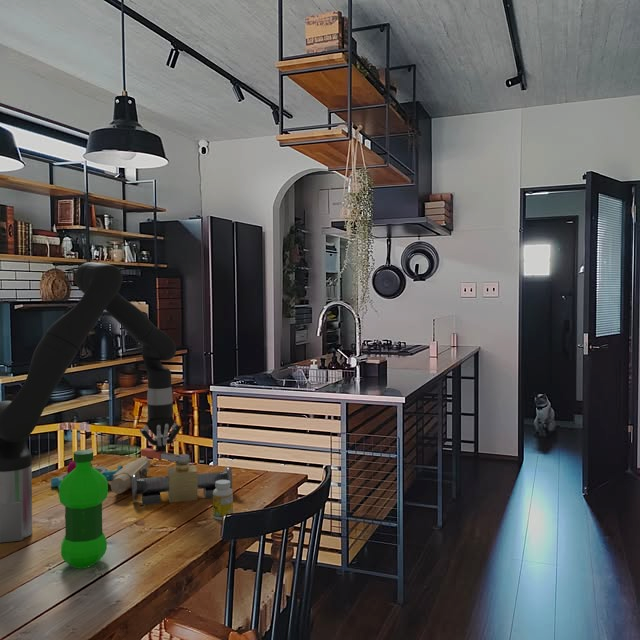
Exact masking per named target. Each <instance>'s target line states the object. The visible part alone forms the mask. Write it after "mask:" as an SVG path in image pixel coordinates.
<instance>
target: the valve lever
mask: <svg viewBox="0 0 640 640" xmlns="http://www.w3.org/2000/svg"><path fill="white" fill-rule="evenodd" d="M140 449H141V448H140ZM140 456H141V457H147V458H148V459H149V458H150V459H155V460H163V461H164V460H165V461H170V462H175V465H176V464H188V463H189V464H190V454H188V453H187V454H186V453H181V454H178V453H171V452H167V451H166V452H165V451H160V450H156V448H155V449H154V448H149V447H145V448H142V449H141V450H140Z"/></svg>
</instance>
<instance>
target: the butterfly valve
mask: <svg viewBox="0 0 640 640" xmlns="http://www.w3.org/2000/svg"><path fill="white" fill-rule="evenodd" d="M150 467H151V461H150V459H149V457H144V456H141V457H139V458H137V459H135V460H134V461H128V463H126V464H125V465H124V466H122V465H118V467H117V469H116V470H108V469H107V467H103V466H102V467H101V466H94V467H93V468H94V469H96V470H97V471H99V472H100V473H101V474H103V475H104V476H105V478H106V480H107V483H108V482H109V483H110V482H111V483H110V489H111V491H112V492H113V493H114V494H122V493H124V492H126V491H128V489H132V488H131V487H132V474H137V479H139V478H147V475H148V472H149V468H150ZM67 475H68V473H67V472H66V473H62V474H61V475H59V476H57V477H56V476H55V477H52V478H51V479H50V486H51V487H57V490H59V486H60V483H61V481H62V480H63V479H64V478H65V477H66V476H67Z"/></svg>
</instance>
